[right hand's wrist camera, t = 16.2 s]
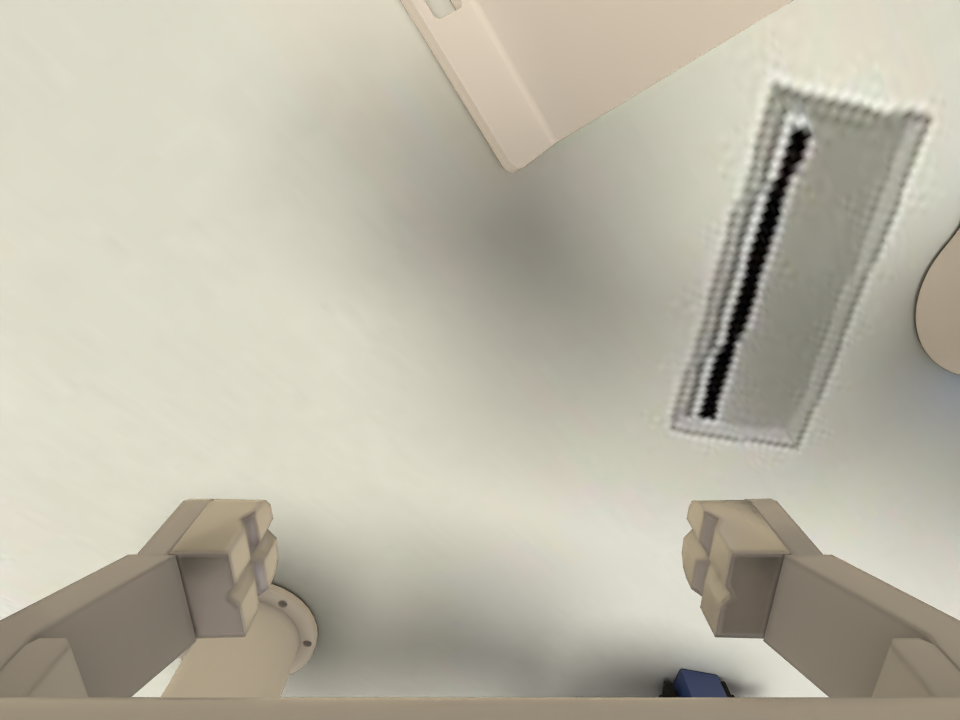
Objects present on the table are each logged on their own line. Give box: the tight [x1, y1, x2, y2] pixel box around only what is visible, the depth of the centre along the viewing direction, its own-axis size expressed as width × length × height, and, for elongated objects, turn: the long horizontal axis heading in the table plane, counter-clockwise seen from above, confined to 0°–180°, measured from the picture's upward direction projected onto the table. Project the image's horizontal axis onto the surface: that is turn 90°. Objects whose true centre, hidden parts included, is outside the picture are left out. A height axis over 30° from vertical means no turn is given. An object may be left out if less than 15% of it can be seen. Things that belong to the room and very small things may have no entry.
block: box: [673, 669, 727, 698], centre depth 57 cm, size 4×5×4 cm
